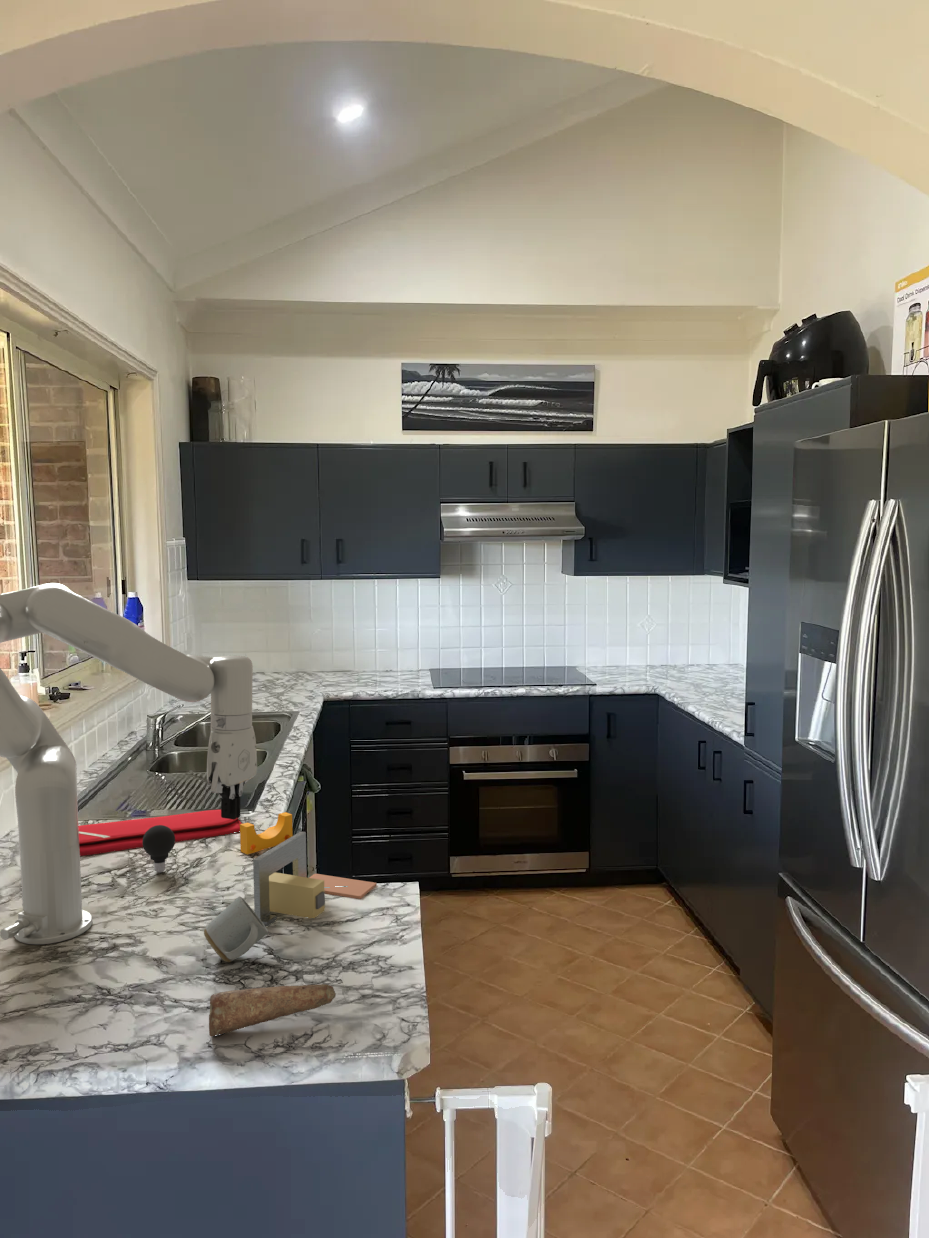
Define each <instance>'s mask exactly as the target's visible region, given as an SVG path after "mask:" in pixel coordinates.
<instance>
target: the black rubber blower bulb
mask: <svg viewBox="0 0 929 1238" xmlns="http://www.w3.org/2000/svg"><path fill="white" fill-rule="evenodd" d="M142 844H143V847H142V848H143V850H144V851H145V853H146V854H147V855H149V857H150V860H152V861H153V863H154V864H153V867H154V872H156V873H159V874H161V873H162V872H165V871H166V859H168V858H169V853H171V852H172V850H173V848H175V844H176V842H175V835H174V833H173V831H172V830H171V829H170V828H169V827H167V826H164V825H156V826H153V827H151V828H150V829H149V830H147V832H146V833H145V835H144V837H143V841H142Z"/></svg>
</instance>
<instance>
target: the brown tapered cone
mask: <svg viewBox="0 0 929 1238" xmlns="http://www.w3.org/2000/svg"><path fill="white" fill-rule="evenodd" d="M336 996H337V993H336V991H335V988H334V986H333V985H329V984H324V983H323V984H321V983H319V984H307V985H306V984H302V985H281V986H269V987H255V988H246V989H234V990H233V989H232V990H227V991H225V990H224V991H221V992H215V993H214V994H213V993H212V994H211V995H210V997H209V1015H208V1032H209V1036H215V1035H219V1034H223V1033H225V1034H227V1032H228V1033H231V1032H234V1031H237V1029H238V1030H241V1029H244V1027H245V1028H248V1027H251V1026H256V1025H258V1024H261V1023H267V1022H268V1021H269V1022H270V1021H272V1020H276V1019H279V1018H282V1017H287V1016H290V1015H293V1014H297V1013H302V1012H305V1011H306V1012H307V1011H311V1010H315V1009H317V1008H320V1007H322V1006H325V1005H328V1004H331V1003H332V1002H333V1000H334V999H335V998H336ZM230 1031H231V1032H230ZM223 1035H224V1034H223Z"/></svg>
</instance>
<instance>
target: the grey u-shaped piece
mask: <svg viewBox="0 0 929 1238" xmlns="http://www.w3.org/2000/svg"><path fill="white" fill-rule="evenodd" d="M290 863H292V875H294V876H301V877H307V876H308V875H307V873H308V872H307V870H308V869H307V833H306V831H299V832H297V833H296V834H293V836H292V837H290V838H289V839H287V840H285V841H284V842H282V843H280V844H279V845H277V846H274V847H271V848H269V849H268V850H267V851H265V852H263V853H262V854H260V855H258V856H256V857H255V858H253V859H252V864H253V865H252V866H253V867H252V868H253V901H254V905H253V907H254V910H253V911H254V912H255V913H256V915H257V916H258V917H259V919H260V920H261V921H262V922H263V924H264V925H265V927H266V926H268V927H269V926H271V923H272V924H273V923H275V922H276V921H277V920H276V919H277V915H275V914H270V913H271V911H270V901H269V876H270V875H272V874H273V873H275V872H276V873H277V872H278V871H279V870H281V869H283V868H284V867H285V866H287V865H289V864H290ZM307 878H308V877H307ZM275 920H276V921H275Z"/></svg>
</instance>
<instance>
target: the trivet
mask: <svg viewBox="0 0 929 1238" xmlns="http://www.w3.org/2000/svg"><path fill="white" fill-rule="evenodd" d="M308 878H313V879H319V880H324V887H330V888H324V891H325V894H327V895H332V896H340V897H347V898H351V899H356V900H361V899H363V897H364V896H366V895H367V894H368V893H369V892H370V891H372V890H373V889H374V888H376V886H375V885H377V882H373V881H366V880H362V879H361V880H359V879H353V878H349V877H348V878H346V877H340V876H335V875H334V876H333V875H327V874H320V873H314V874H312V875H311V876H309V877H308ZM335 886H348V887H335Z"/></svg>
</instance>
